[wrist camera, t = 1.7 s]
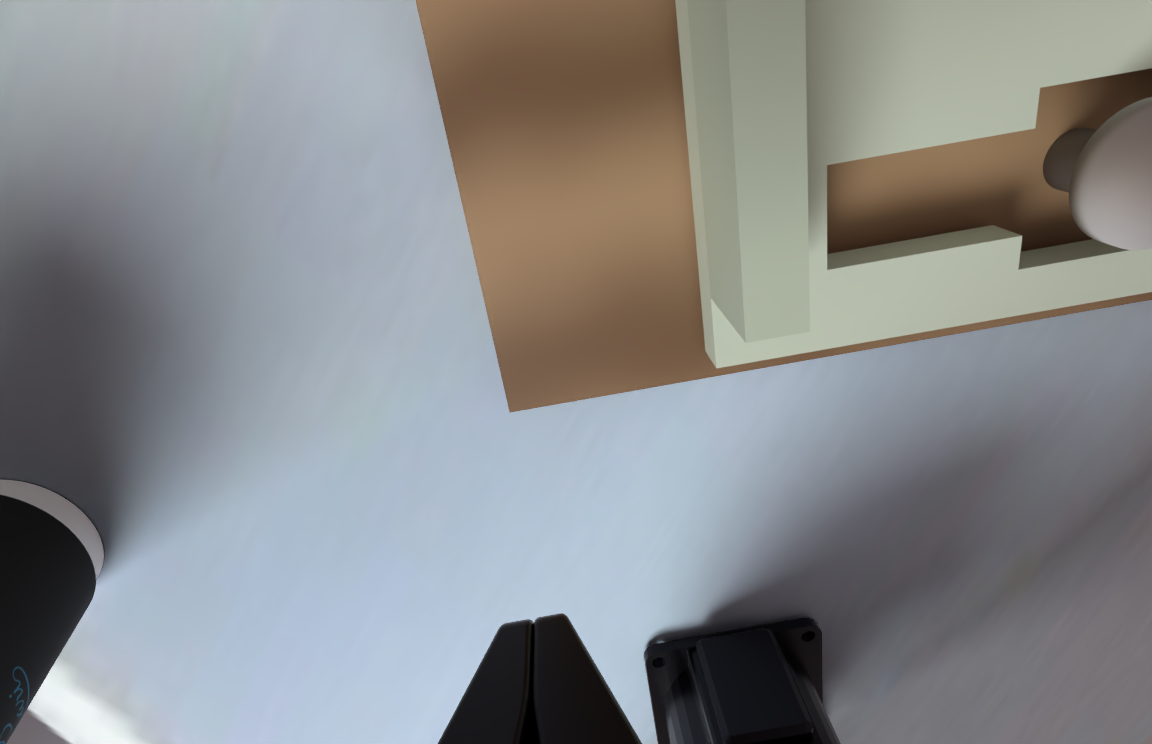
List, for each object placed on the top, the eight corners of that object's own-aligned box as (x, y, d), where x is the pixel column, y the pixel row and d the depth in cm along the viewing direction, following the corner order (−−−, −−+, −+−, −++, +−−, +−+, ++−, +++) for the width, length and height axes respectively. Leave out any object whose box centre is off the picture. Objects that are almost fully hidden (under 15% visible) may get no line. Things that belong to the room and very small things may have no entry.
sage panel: (1237, 257, 19) (1411, 307, 16) (705, 351, 19) (750, 423, 16) (1414, -432, 14) (1766, -621, 10) (649, -297, 14) (700, -433, 10)
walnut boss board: (1358, 250, 21) (1513, 287, 18) (510, 399, 21) (508, 463, 18) (1611, -509, 14) (1940, -678, 11) (355, -287, 14) (305, -388, 11)
